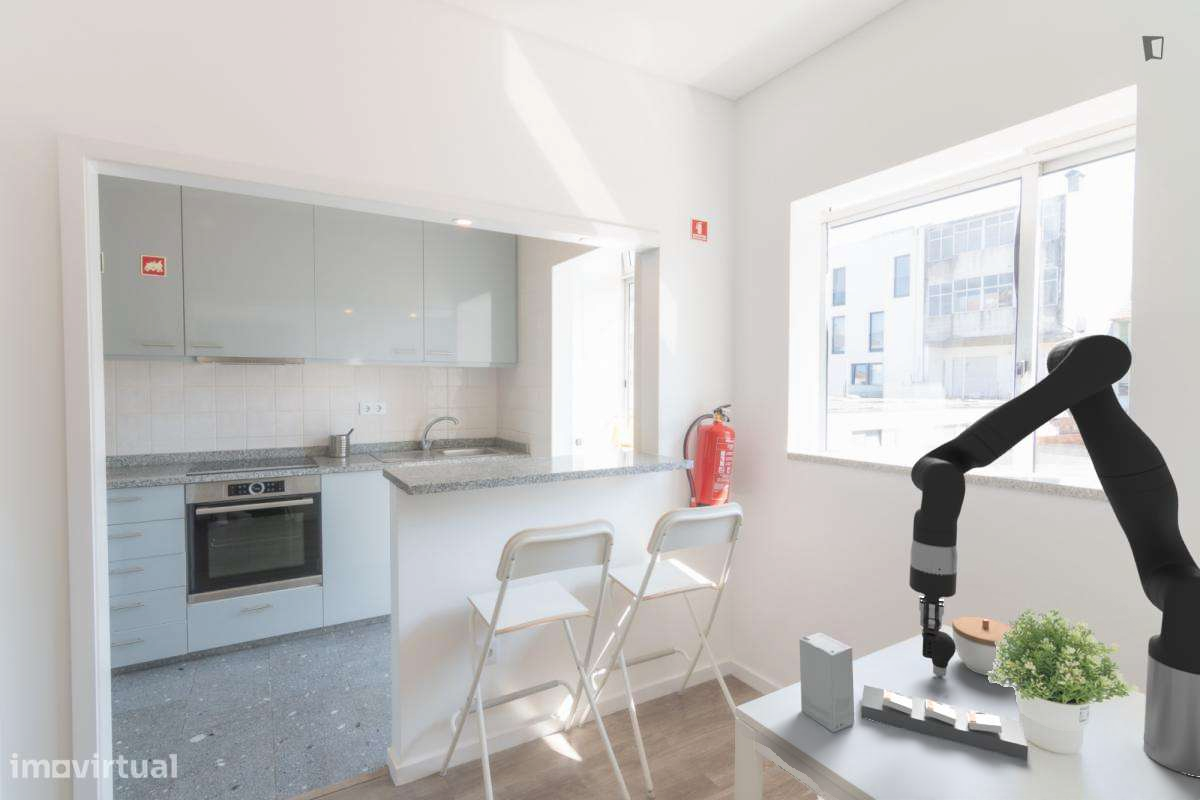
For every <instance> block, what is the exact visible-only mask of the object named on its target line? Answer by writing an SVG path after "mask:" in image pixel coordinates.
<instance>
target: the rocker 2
mask: <svg viewBox="0 0 1200 800" xmlns="http://www.w3.org/2000/svg"><path fill="white" fill-rule="evenodd" d="M967 715H968V721H969V727H970V729H974V730H983V731H992V732H1000V733H1002V729H1001V724H1000V720H999V715H996V716H993V715H994V714H991V715H983V714H974V713H967Z"/></svg>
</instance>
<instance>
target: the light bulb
mask: <svg viewBox="0 0 1200 800" xmlns="http://www.w3.org/2000/svg"><path fill="white" fill-rule="evenodd" d="M955 653H956V646H955V643H954V640H953V637H952V636H951V635H950V634H948V633H946V632H945V631H941V630H939V639H938V641H937V648H936V658H935V659H931V663H932V672H933V674H934V675H935V676H936V677H937V678H940V679H942V678H944V677H946V676H947V667H948V665H949V662H950V660H951V659H952V658H953V657H954V655H955Z"/></svg>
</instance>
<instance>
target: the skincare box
mask: <svg viewBox="0 0 1200 800" xmlns="http://www.w3.org/2000/svg"><path fill="white" fill-rule="evenodd" d="M799 665H800V668H799V670H800V699H801V701H800V703H801V706H800V707H801V712H803V713H804V714H806V715H807V716H808V717H810V718H812V719H813V720H814V721H816V722H817V723H819V724H821V725H822V726H824V727H825V729H828V730H829V731H831V732H833V733H834V732H835V733H836V732H837V731H840V730H842V729H846V728H849V727H851V725H852V726H854V725H855V703H854V702H855V701H854V700H855V699H854V693H855V692H854V669H853V668H854V667H853V647H852V646H850V645H847V644H845V643H843V642H841V641H838V640H836V639H834V638H832V637H830V636H828V635H827V634H824V633H822V632H816V633H814V634H810V635H807V636H804V637H802V638H800V639H799Z"/></svg>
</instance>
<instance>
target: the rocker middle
mask: <svg viewBox="0 0 1200 800" xmlns="http://www.w3.org/2000/svg"><path fill="white" fill-rule="evenodd" d="M929 700H930V699H926V700H925V705H924V706H925V714H926V715H929V716H931V717H934V718H937V719H939V720H942V721H945V722H947V723H950V724H953V725H955V723H956V713H955V710H954V709H951V708H948V707H945V706H943V705H940V704H937V703H935V702H936V701H935V702H932V701H933V700H931V701H929Z"/></svg>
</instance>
